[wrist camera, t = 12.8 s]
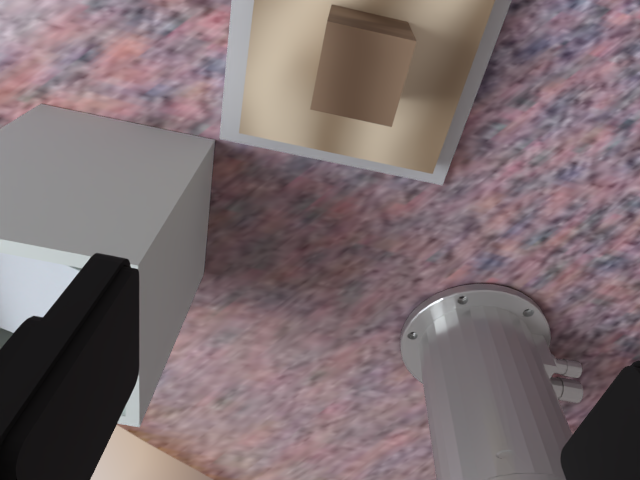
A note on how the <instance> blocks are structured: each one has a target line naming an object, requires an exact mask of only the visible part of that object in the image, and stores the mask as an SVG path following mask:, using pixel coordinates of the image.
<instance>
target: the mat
mask: <svg viewBox="0 0 640 480" xmlns="http://www.w3.org/2000/svg"><path fill="white" fill-rule="evenodd" d="M511 1H512V0H495V2H494V5H493V8H492V11H491V13H490V16H489V19H488V22H487V24H486V27H485V30H484V33H483V36H482V38H481V41H480V44H479V47H478V49H477V52H476V55H475V58H474V61H473V63H472V66H471V69H470V72H469V74H468V77H467V80H466V83H465V86H464V88H463V91H462V94H461V97H460V99H459V102H458V105H457V108H456V111H455V113H454V116H453V119H452V122H451V124H450V127H449V130H448V133H447V136H446V138H445V141H444V144H443V147H442V150H441V152H440V155H439V158H438V161H437V163H436V166H435V169H434V172H433V174H430V173H425V172H421V171H416V170H411V169H406V168H402V167H397V166H392V165H388V164H383V163H378V162H373V161H369V160H364V159H359V158H354V157H350V156H345V155H340V154H335V153H331V152H326V151H321V150H316V149H312V148H307V147H302V146H297V145H293V144H288V143H283V142H278V141H274V140H269V139H264V138H260V137H255V136H250V135H245V134H241V133H239V128H240V119H241V110H242V102H243V93H244V84H245V75H246V67H247V58H248V49H249V40H250V32H251V23H252V14H253V5H254V0H232V4H231V15H230V26H229V37H228V48H227V60H226V71H225V82H224V93H223V104H222V116H221V127H220V138H219V139H222V140H226V141H231V142H236V143H241V144H246V145H250V146H255V147H260V148H265V149H270V150H275V151H279V152H284V153H289V154H294V155H299V156H303V157H308V158H313V159H318V160H323V161H328V162H332V163H337V164H342V165H347V166H352V167H356V168H361V169H366V170H371V171H376V172H381V173H385V174H390V175H395V176H400V177H405V178H409V179H414V180H419V181H424V182H429V183H434V184H438V185H443V183H444V180H445V177H446V175H447V172H448V169H449V167H450V164H451V161H452V159H453V156H454V153H455V151H456V148H457V145H458V143H459V140H460V137H461V134H462V132H463V129H464V126H465V124H466V121H467V118H468V116H469V113H470V110H471V108H472V105H473V102H474V100H475V97H476V94H477V92H478V89H479V86H480V84H481V81H482V78H483V76H484V73H485V70H486V68H487V65H488V62H489V60H490V57H491V54H492V52H493V49H494V46H495V44H496V41H497V38H498V36H499V33H500V30H501V28H502V25H503V22H504V20H505V17H506V14H507V12H508V9H509V6H510V4H511Z"/></svg>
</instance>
